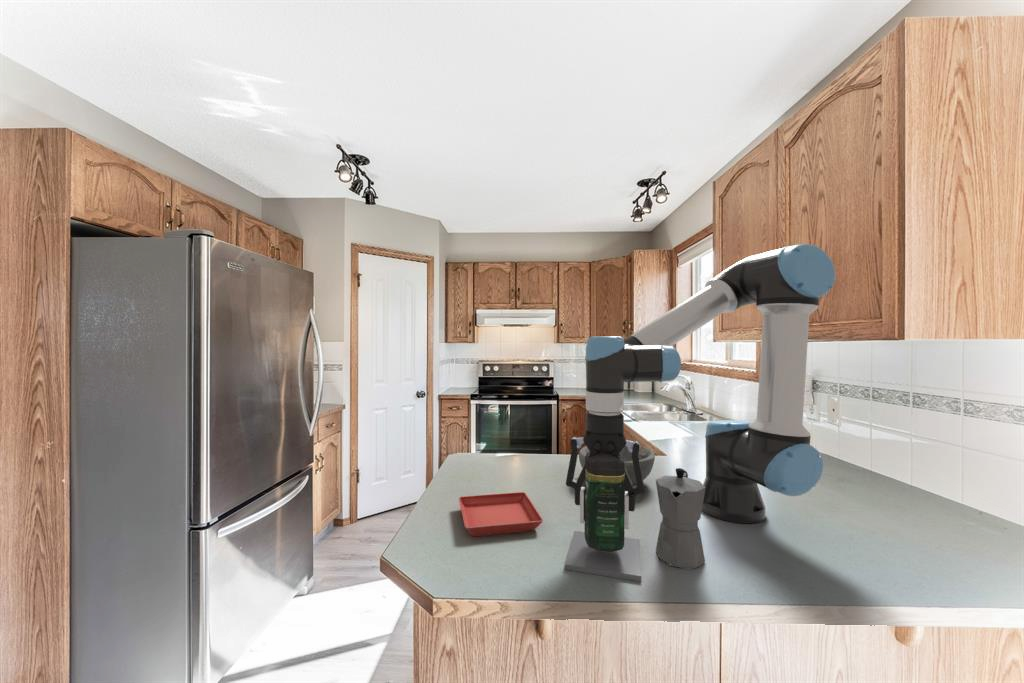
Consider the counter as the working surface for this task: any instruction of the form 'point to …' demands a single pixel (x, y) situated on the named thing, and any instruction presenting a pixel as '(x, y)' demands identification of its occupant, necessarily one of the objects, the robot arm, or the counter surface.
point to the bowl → (630, 461)
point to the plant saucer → (499, 513)
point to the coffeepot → (680, 520)
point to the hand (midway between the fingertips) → (604, 523)
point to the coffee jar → (604, 502)
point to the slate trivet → (605, 559)
